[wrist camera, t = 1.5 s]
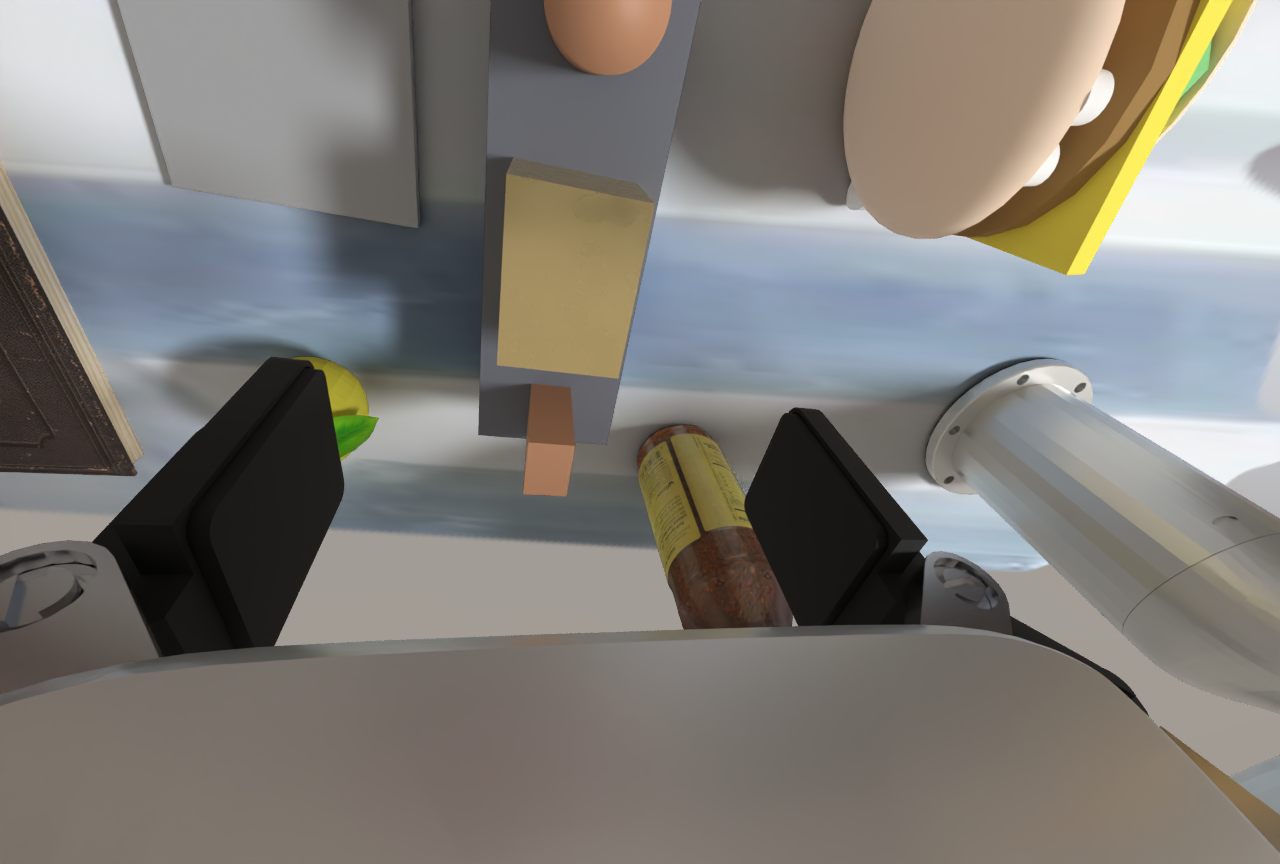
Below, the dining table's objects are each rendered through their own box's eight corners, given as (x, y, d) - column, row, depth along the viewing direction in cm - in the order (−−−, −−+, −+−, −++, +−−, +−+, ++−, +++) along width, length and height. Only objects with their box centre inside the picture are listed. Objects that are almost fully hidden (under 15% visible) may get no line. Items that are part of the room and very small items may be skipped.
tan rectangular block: (637, 183, 20) (654, 204, 17) (608, 338, 24) (618, 378, 21) (513, 157, 19) (506, 173, 16) (503, 324, 23) (496, 365, 20)
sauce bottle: (649, 496, 38) (724, 801, 22) (621, 438, 34) (686, 754, 18) (729, 467, 37) (865, 757, 21) (710, 404, 33) (856, 700, 18)
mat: (409, -45, 19) (405, -49, 18) (420, 225, 24) (418, 228, 24) (87, -141, 16) (73, -147, 16) (180, 184, 22) (172, 186, 21)
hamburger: (851, -115, 20) (1142, -297, 10) (1034, -104, 21) (1458, -261, 11) (794, 208, 27) (933, 281, 17) (932, 203, 28) (1137, 271, 18)
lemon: (253, 397, 28) (138, 523, 20) (272, 312, 26) (148, 418, 18) (377, 437, 31) (318, 561, 23) (405, 363, 28) (350, 475, 20)
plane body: (676, -8, 21) (757, -61, 13) (599, 398, 32) (616, 506, 24) (504, -62, 19) (474, -163, 11) (487, 387, 30) (465, 499, 22)
